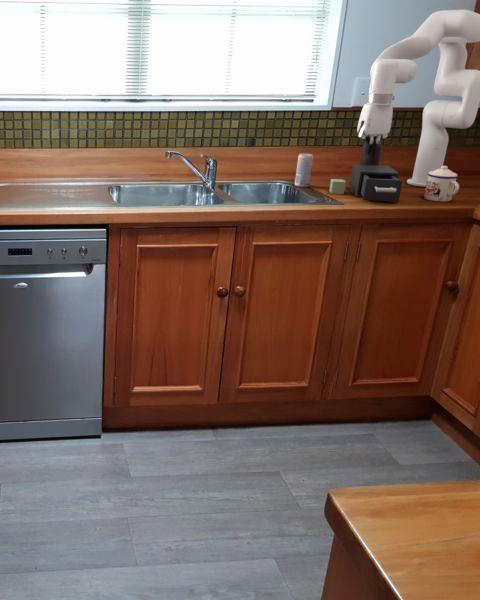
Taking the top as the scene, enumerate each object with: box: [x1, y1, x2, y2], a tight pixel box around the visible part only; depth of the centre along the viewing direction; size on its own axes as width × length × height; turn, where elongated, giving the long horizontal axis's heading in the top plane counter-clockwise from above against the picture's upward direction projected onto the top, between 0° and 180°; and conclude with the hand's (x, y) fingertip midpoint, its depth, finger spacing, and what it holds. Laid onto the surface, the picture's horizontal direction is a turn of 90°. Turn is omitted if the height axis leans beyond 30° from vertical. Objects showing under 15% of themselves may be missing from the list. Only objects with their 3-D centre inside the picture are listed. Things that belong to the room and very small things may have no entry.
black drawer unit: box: [359, 174, 404, 203], centre depth 212 cm, size 18×11×7 cm, turn 167°
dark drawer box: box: [348, 164, 400, 198], centre depth 222 cm, size 15×13×9 cm
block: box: [328, 178, 347, 195], centre depth 224 cm, size 4×4×4 cm
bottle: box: [359, 140, 383, 166], centre depth 234 cm, size 7×7×20 cm
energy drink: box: [294, 153, 314, 188], centre depth 234 cm, size 5×5×12 cm
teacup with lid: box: [423, 165, 460, 203], centre depth 212 cm, size 12×9×12 cm
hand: (369, 155), depth 209 cm, fingers closed
